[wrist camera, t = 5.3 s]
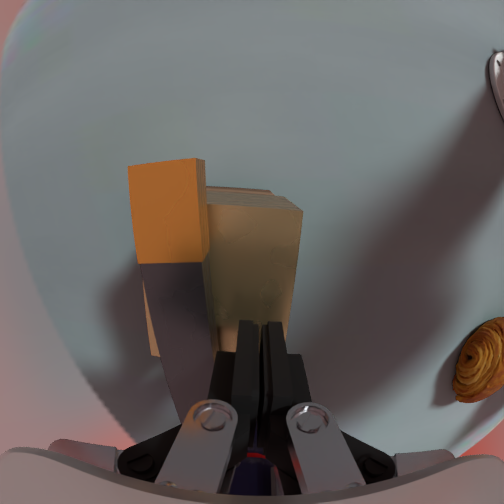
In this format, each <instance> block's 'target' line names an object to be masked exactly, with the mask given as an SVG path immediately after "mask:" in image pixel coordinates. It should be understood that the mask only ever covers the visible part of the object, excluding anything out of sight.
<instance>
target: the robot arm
mask: <svg viewBox="0 0 504 504" xmlns="http://www.w3.org/2000/svg"><path fill="white" fill-rule="evenodd" d="M489 72H490V80H491V85H492V89H493V93H494V96H495V99H496V102H497V105H498V108H499V110H500V113H501V115H502V117H503V119H504V52H498V53H495V54H494V55H493V56H492V57H491V59H490V64H489ZM256 421H257V448H263V455H265V458H266V459H267V460H269V461H270V462H271V463H273V464H274V472H275V476H276V480H277V484H278V488H279V492H280V496H242V495H228V494H229V490H230V487H231V483H232V480H233V476H234V472H235V468H236V465H237V464H238V463H240V462H241V461H242V460H244V459H245V458H247V451H248V448H253V444H254V437H255V429H256ZM0 504H504V462H503V460H501V459H500V458H499V457H496V456H493V455H484V454H482V455H470V456H463V457H458V458H455V457H454V455H453V454H452V453H451V452H450V451H447V450H442V449H439V450H431V451H423V452H412V453H397V454H395V455H394V456H389V455H387V454H386V453H384V452H382V451H380V450H378V449H376V448H374V447H372V446H370V445H368V444H366V443H364V442H362V441H360V440H358V439H356V438H354V437H352V436H350V435H348V434H346V433H344V432H343V431H341V430H340V429H339V427H338V424H337V422H336V420H335V418H334V416H333V414H332V413H331V412H330V410H329V409H327V408H326V407H325V406H323V405H320V404H318V403H312V401H311V397H310V392H309V387H308V383H307V378H306V373H305V369H304V364H303V360H302V356H301V355H300V354H287V350H286V344H285V337H284V331H283V325H282V322H279V321H268V322H267V325H264V324H262V329H261V340H260V351H259V324H253V320H239V327H238V336H237V346H236V352H228V351H217V353H216V357H215V362H214V367H213V372H212V377H211V382H210V388H209V393H208V398H207V400H203V401H200V402H198V403H196V404H195V405H193V406H192V407H191V409H190V410H189V412H188V414H187V416H186V418H185V420H184V422H183V424H181V425H179V426H177V427H175V428H172V429H170V430H168V431H166V432H164V433H162V434H159V435H157V436H155V437H153V438H150V439H148V440H146V441H143V442H141V443H139V444H136V445H134V446H131V447H129V448H127V449H125V450H117V448H116V447H110V446H103V445H96V444H89V443H83V442H78V441H72V440H68V439H59V440H56V441H54V442H53V443H52V444H50V446H49V448H48V450H44V449H39V448H30V447H16V448H12V449H9V450H7V451H5V452H4V453H3V454H1V455H0Z"/></svg>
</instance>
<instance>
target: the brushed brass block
mask: <svg viewBox="0 0 504 504" xmlns="http://www.w3.org/2000/svg"><path fill="white" fill-rule="evenodd" d="M206 196H207V212H208V227H209V240H210V249H209V261H210V272H211V283H212V293H213V302H214V312H215V321H216V330H217V338H218V346H219V351H228V352H236V346H237V336H238V327H239V320H253V324H259V351H260V340H261V329H262V324H264V325H267V322H268V321H279V322H282V325H283V331H284V337H285V340H286V334H287V328H288V322H289V316H290V309H291V302H292V296H293V289H294V282H295V275H296V267H297V260H298V252H299V244H300V235H301V227H302V218H303V211H302V210H301V209H300V208H298V207H297V206H296V205H294V204H293V203H292V202H290V201H289V200H288V199H286V198H285V197H283V196H271V195H259V194H246V193H231V192H213V191H206ZM143 289H144V300H145V310H146V319H147V328H148V335H149V342H150V349H151V355H152V356H158V357H160V354H159V351H158V347H157V343H156V339H155V335H154V331H153V326H152V322H151V318H150V313H149V308H148V304H147V299H146V294H145V288H144V283H143Z"/></svg>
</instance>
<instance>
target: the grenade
mask: <svg viewBox="0 0 504 504" xmlns="http://www.w3.org/2000/svg"><path fill="white" fill-rule="evenodd" d="M228 495H242V496H280V492H279V488H278V484H277V480H276V476H275V472H274V464H273V463H271V462H270V461H269V460H267V459H266V458H265V455H263V448H257V421H256V429H255V437H254V444H253V448H248V451H247V458H245V459H244V460H242V461H241V463H240V465H239V466H238V467H237V468H235V472H234V476H233V480H232V483H231V487H230V490H229V494H228Z"/></svg>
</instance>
